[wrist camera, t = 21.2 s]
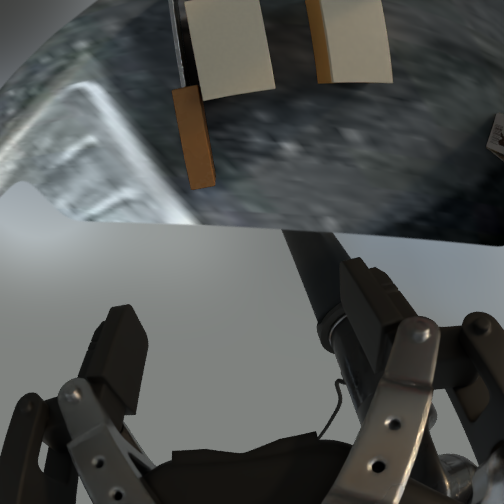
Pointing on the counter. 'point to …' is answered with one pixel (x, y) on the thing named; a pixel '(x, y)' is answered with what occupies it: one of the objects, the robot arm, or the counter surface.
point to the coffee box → (497, 137)
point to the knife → (191, 116)
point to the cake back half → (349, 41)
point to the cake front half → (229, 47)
